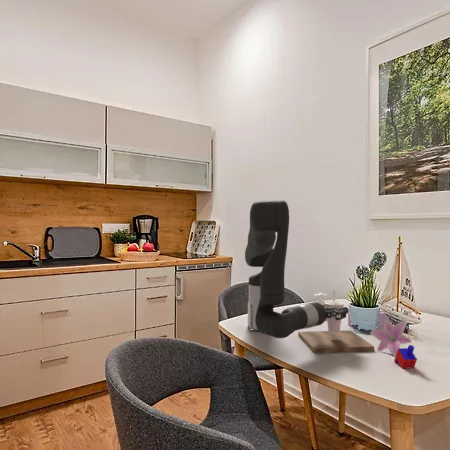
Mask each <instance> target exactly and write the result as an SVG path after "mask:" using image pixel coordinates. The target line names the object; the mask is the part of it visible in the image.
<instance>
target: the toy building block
mask: <svg viewBox="0 0 450 450" xmlns="http://www.w3.org/2000/svg"><path fill="white" fill-rule="evenodd" d="M414 350H415V347H414V345H412V344H409V345H408V347H406V348H405V347H404V348H403V347H401V348H398V351H397V354H396V357H395V356H394V361H393V362H394V363H395V364H399V366H400V368H401V369H414V368H415V366H416V363H417V360H418V359H417V357H416V355H415V353H414Z"/></svg>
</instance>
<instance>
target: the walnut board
mask: <svg viewBox="0 0 450 450" xmlns="http://www.w3.org/2000/svg"><path fill="white" fill-rule="evenodd" d="M297 336H298V337H299V338H300V339H301V341H302V342H303V341H304V342H305V343H306V344H305V345H306V346H307V347H308V348H309V349H310V351H312V353H313V354H321V353H322V354H323V353H326V354H328V353H329V354H330V353H357V352H358V353H359V352H375V346H374V345H373V344H371V343H370V342H368V341H367V340H366V339H365V338H362V337H361V336H360V335H359V334H357V333H356V332H354V331H353V330H351V329H349V330H340V332H339V333H332V332H329V331H328V330H320V331H314V330H313V331H298V333H297ZM304 342H303V343H304Z"/></svg>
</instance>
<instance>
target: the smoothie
mask: <svg viewBox="0 0 450 450" xmlns="http://www.w3.org/2000/svg"><path fill="white" fill-rule="evenodd" d="M335 295H336V293H335V289H333V290H332V300H331V301H324V302H325V306H326V307H335V308H343V307H345V305H344V303H343V302H341V301H336V298H335ZM332 313H333V309H332ZM341 322H342V319H341V320H335V318H329V319H326V323H327V331H329V332H332V333H339V332H340V331H341Z"/></svg>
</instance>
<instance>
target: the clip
mask: <svg viewBox="0 0 450 450" xmlns="http://www.w3.org/2000/svg"><path fill="white" fill-rule="evenodd" d="M347 308H348V313H347V326H349V327H352V326H351V320H350V314H349V307H347ZM386 320H387V321H389V322H390V323H391V321H390V319H389V318H388V316H387V315H386V314H385V313H384V312H383V311H380V314H379V321H378V325H377V328H376V330H379V329H384V325H385V321H386ZM391 325H392V324H391Z"/></svg>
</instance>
